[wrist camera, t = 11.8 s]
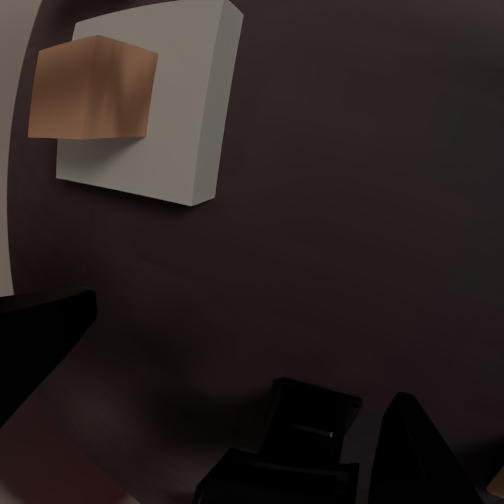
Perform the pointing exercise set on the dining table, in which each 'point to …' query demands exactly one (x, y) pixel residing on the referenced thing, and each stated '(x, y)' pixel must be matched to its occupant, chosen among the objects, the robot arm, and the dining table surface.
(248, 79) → the dining table surface
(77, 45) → the terracotta cube
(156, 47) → the grey base
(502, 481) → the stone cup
